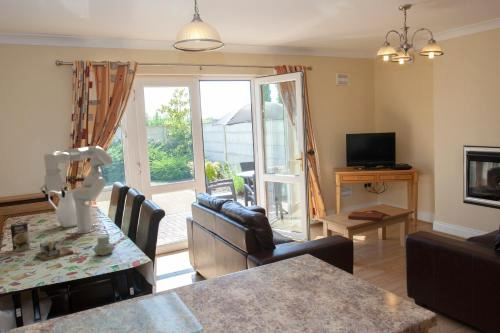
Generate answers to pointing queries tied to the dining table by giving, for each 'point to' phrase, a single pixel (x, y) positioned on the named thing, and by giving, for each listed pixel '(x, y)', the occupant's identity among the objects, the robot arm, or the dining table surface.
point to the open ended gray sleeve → (45, 249)
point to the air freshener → (103, 246)
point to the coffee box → (20, 236)
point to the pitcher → (65, 209)
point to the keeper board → (63, 252)
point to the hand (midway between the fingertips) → (55, 198)
